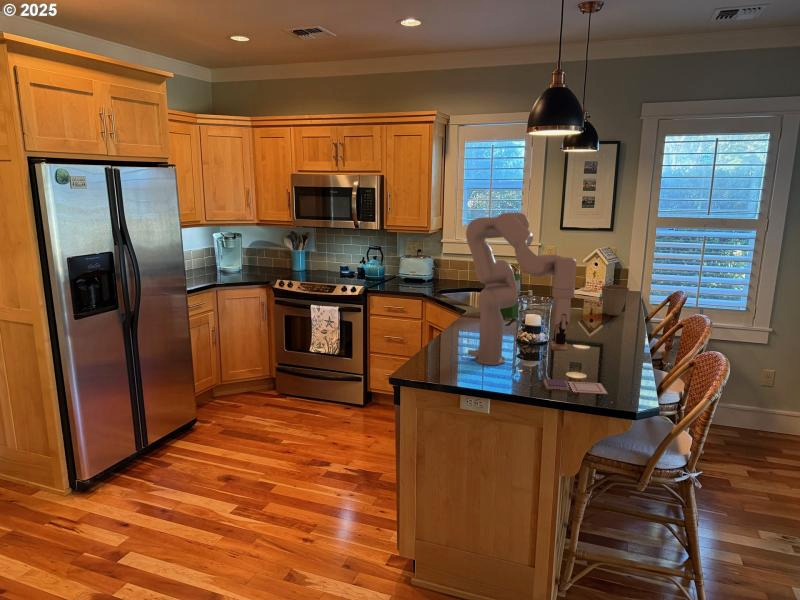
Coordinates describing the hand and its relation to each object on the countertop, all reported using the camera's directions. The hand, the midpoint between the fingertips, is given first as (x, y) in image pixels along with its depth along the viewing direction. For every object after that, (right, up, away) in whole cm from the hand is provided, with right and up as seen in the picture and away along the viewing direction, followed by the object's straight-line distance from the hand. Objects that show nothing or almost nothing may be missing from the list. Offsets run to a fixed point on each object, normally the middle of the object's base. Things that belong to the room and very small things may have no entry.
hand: (559, 341), depth 190 cm
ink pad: (0, -17, +4) cm, 17 cm away
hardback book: (0, +6, +113) cm, 113 cm away
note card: (+11, -17, +2) cm, 20 cm away
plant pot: (+67, +7, +118) cm, 136 cm away
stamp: (0, -3, +1) cm, 3 cm away
